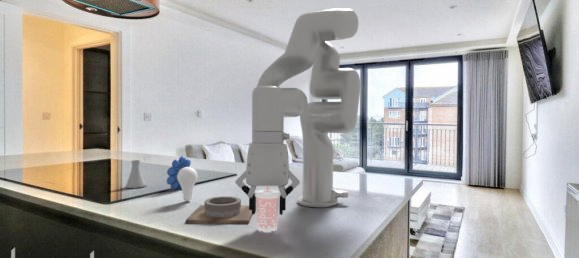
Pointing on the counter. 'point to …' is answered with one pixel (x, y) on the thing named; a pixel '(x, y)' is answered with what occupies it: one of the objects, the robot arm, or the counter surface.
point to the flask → (135, 176)
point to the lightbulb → (187, 181)
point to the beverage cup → (267, 209)
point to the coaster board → (221, 211)
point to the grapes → (176, 171)
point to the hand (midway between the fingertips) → (267, 212)
